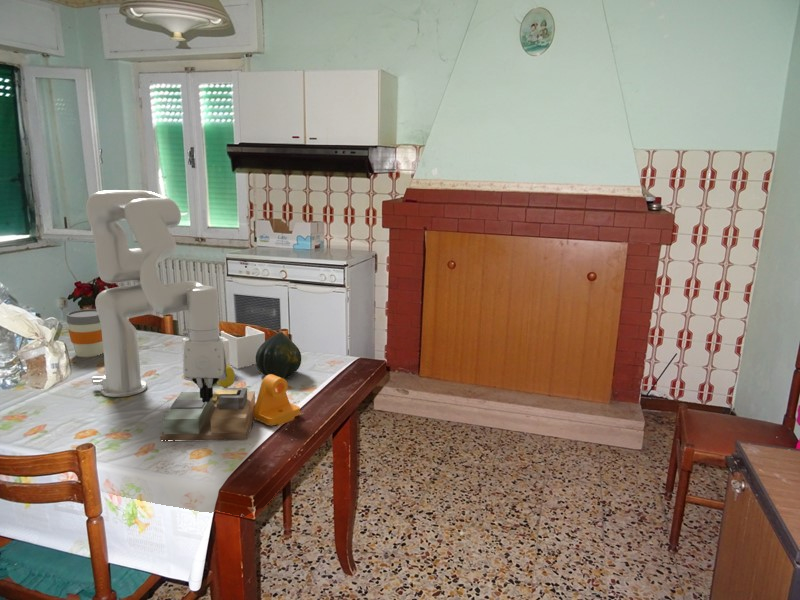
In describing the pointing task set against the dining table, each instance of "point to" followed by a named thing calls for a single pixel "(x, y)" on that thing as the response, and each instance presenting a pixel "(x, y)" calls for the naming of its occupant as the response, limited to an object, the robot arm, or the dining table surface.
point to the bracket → (274, 402)
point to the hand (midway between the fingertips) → (206, 400)
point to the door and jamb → (210, 417)
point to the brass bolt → (222, 393)
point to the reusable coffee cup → (85, 332)
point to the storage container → (240, 347)
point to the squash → (278, 356)
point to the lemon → (229, 379)
